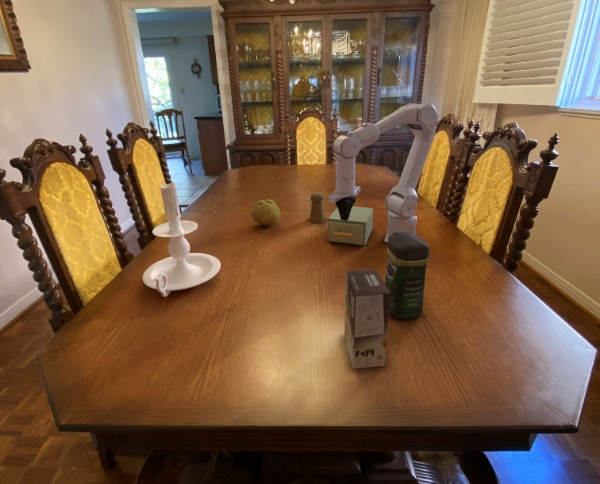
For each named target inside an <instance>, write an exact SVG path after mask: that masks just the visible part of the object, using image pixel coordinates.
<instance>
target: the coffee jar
mask: <svg viewBox="0 0 600 484" xmlns="http://www.w3.org/2000/svg"><path fill="white" fill-rule="evenodd" d="M429 260H430V245H429V244H428V243H427V242H426V241H425V240H424V239H423V238H421V237H420V236H418V235H417V234H416V235H415V234H413V233H411V232H410V231H405V232H394V233H393V234H392V235H391V236H390V237H389V239H388V243H387V244H386V270H385V280H384V283H385V285H386V287H387V288H388V290H389V292H390V302H389V314H390V315H392V317H394V318H396V319H402V320H413V319H417V318H419V317H421V316H422V314H423V309H424V298H425V297H424V296H425V283H426V275H427V274H426V273H427V267H428V263H429Z"/></svg>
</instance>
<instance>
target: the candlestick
mask: <svg viewBox="0 0 600 484" xmlns="http://www.w3.org/2000/svg"><path fill="white" fill-rule="evenodd" d="M160 194H161V199H162V205H163V209H164V216H165V217H167V222H164V223H161V224H159V225H157V226H156V227H154V228H153V229H152V230H151V231H152V232H151V233H152V234H153V235H154V236H155V237H160V238H169V242H168V245H167V253H168V254H169V257H165V258H162V259H161V260H159V261H156V262H154V263H152V264H151V265H149V267H147V269H146V270H145V271H144V272H143V274H142V279H141V280H142V282H143V284H144V285H145V286H146V287H149V288H151V289H154V290H156V291H157V292H159V293H160V295H161V297H164V298H165V297H168V296H169V295H170V294H171V292H172V291H183V290H188V289H191V288H195V287H196V286H199V285H201V284H205V282H208V281H209V280H211V279H213V278H214V277H215V276H216V275H217V274H218V273H219V272H220V270H221V261H220V259H218V258H217V257H216V256H214V255H211V254H208V253H207V254H206V253H203V252H202V253H201V252H191V251H190V250H191V246H190V243H189V241H188V240H187V239H186V238H185V235H188V234H190V233H192V232H194V231H196V230H197V229H198V228H199V227H198V226H199V224H198V223H197V222H196V221H192V220H184V219H183V220H181V217H182V214H181V209H180V203H179V197H178V191H177V183H176V182H170V183H168V184H167V183H164V184H162V185H161V186H160Z"/></svg>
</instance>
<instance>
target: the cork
mask: <svg viewBox="0 0 600 484" xmlns="http://www.w3.org/2000/svg"><path fill="white" fill-rule="evenodd" d="M324 197H325V196H324V194H323V193H322V192H313V193H311V195H310V197H309V198H310V201H311V206H310V214H309V222H311V223H313V224H314V223H315V224H320V223H324V222H325V221H326V220H325V213H324V204H323V201H324V200H325V198H324Z"/></svg>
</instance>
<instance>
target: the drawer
mask: <svg viewBox="0 0 600 484" xmlns="http://www.w3.org/2000/svg"><path fill="white" fill-rule="evenodd" d="M363 231H364V225H363V224H352V223H342V222H337V221H330V222H329V241H328V242H330V241H337V242H336V243H338V242H345V243H344V244H346V243H353V244H352V245H354V244H361V245H360V246H362V244H363Z"/></svg>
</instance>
